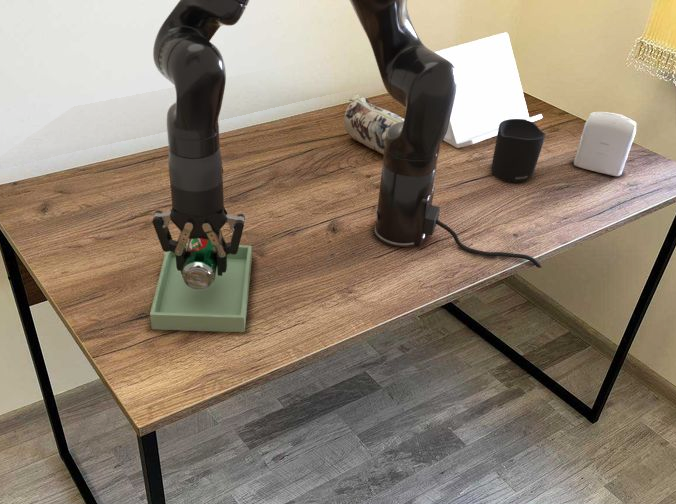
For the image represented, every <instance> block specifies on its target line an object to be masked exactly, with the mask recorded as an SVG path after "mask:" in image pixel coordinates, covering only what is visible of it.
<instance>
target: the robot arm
mask: <svg viewBox="0 0 676 504" xmlns="http://www.w3.org/2000/svg"><path fill="white" fill-rule="evenodd" d="M348 1H349V3H350V5H351V7H352V9H353V11H354V14H355V15H356V17H357V19H358V21H359V23H360V26H361V27H362V29H363V31H364V33H365V35H366V37H367V39H368V42H369V44H370V47H371V50H372V53H373V56H374V59H375V63H376V65H377V68H378V72H379V75H380V79H381V82H382V83H383V86H384V88H385V90H386V92H387V93H388V94H389V96H390V97H391V98H392V99H393V100H394V101H396V102H397V103H398V104H400V105H402V106H403V107H404V108H405V113H404V117H403V119H404V121H403V122H398V123H395V124H393V125H392V126H390V127H389V129H388V130H387V133H386V140H385V149H384V155H383V158H382V166H381V175H380V184H379V190H378V191H379V192H378V200H377V206H376V208H374V211H375V212H374V214H375V223H374V227H373V228H374V230H373V231H374V235H375V237H376V238H377V239H378V240H379V241H381V242H382V243H384V244H387V245H389V246H392V247H397V248H409V247H417V248H421V246H422V244H423V242H424V240H425V238H426V235H428V236H432V235H433V233H434V231H435V229H436V227H437V226H439V227H441V228H442V229H443V230H445V231H446V232H448V233H449V234H450V235H451V236H452V237H453V239H454V242H455V244H456V245H457V246H458V247H459V248H460V249H462V250H463V251H465V252H467V253H469V254H474V255H478V256H484V257H505V258H512V259H522V260H527V261H529V262H531V263H532V264H533V265H534V266H535V267H536V268H539V269H541V268H542V265H541V263H540V262H539V261H538V260H537V259H536V258H535V257H533V256H530V255H527V254H523V253H513V252H507V251H506V252H504V251H484V250H479V249H474V248H472V247H468V246H466V245H465V244H464V243H462V242H461V241H460V239H459V236H458V235H457V233H456V232H455V230H453V229H452V228H451V227H450V226H448V225H447V224H445V223H444V222H442V221H440V220H439V217H440V212H441V206H437V205H433V200H434V196H435V195H434V194H435V189H436V186H435V185H434V182H435V177H436V172H437V171H436V170H437V164H438V160H439V154H440V149H441V145H442V142H443V141H444V140H443V139H444V137H445V135H446V133H447V130H448V126H449V122H450V117H451V113H452V109H453V105H454V100H455V96H456V90H457V73H456V70H455V67H454V66H453V64H451V63H450V62H449V61H448V60H446V59H445V58H443V57H441V56H440V55H438V54H436V53H435V52H436V51H433V50H431V49H430V48H428V47H427V46H426V45H425V44H424V43H423V42H422V40H421V39H420V37H419V36H418V33H417V31H416V30H415V27H414V25H413V23H412V20H411V18H410V15H409V10H408V0H348ZM249 3H250V0H179V1H178V2H177V4H176V5H175V6H174V8H173V9H172V11H171V12H170V13H169V14H168V16H167V17H166V18H165V20H164V21H163V23H162V24H161V25H160V28H159V30H158V32H157V34H156V36H155V40H154V44H153V48H152V57H153V58H152V59H153V62H154V65H155V67H156V69H157V71H158V72H159V73H160V74H161V75H162V76H163V77H164V78H165V79H166V80H168V81H169V82H170V83H171V84H172V85H174V89H175V96H176V98H175V100H176V101H175V102H174V103H173V104H171V105H170V107H169V108H168V109H167V113H166V134H167V144H168V158H167V159H168V161H167V163H168V177H169V185H170V196H171V210H170V211H166V212H163V211H162V210H159V209H157V210H155V211H154V215H153V219H152V220H151V221H152V225H153V228H154V230H155V234H156V236H157V238H158V241H159V244H160V246H161V248H162V249H161V250H162V251H163V252H169V251H171V252H173V253H174V254H175V256H176V267H177V270H178V271H181V274H182V269H183V264H184V260H185V255H186V248H185V246H186V244H187V243H188V242H189V239H196V238H202V239H209V240H210V242H211V244H212V246H213V247H214V248H215V250H216V252H217V273H218V276H222V274H223V273H225V272H226V270H227V255H228V254H233V255H235V254H237V252H238V248H239V245H241V244H240V243H241V239H242V236H243V231H244V228H245V219H246V216H245V215H244V214H243V213H239V214H237V215H234V214H229V213H228V211H227V210H226V208H225V203H224V202H225V201H224V199H225V198H224V177H223V176H224V167H223V159H222V153H221V148H220V147H221V144H220V125H219V117H220V114H221V110H222V105H223V100H224V94H225V89H226V82H227V72H226V66H225V61H224V58H223V55H222V53H221V51H220V50H219V49H218V47H217V46H216V45H215V44H214V43H212V42H211V40H212V39H213V37H214V36H215V34H216V33H217V31H218V30H219V29H220V28H221V27H222V26H228V27H232V26H235V25H236V24H238V22H239V21H240V20H241V18H242V17H243V15H244V14H245V10H246V9H247V6H248V4H249ZM170 222H172V224H173V225H175V226H176V228H177V229H178V230H179V231H180V232H179V236H178V238H177V240H175V239H173V237H172V235H171V232H170V231H171V230H170V229H169V225H170ZM226 223H227V224H228V225H229V229H230V230H231V231H232V235H231V239H230V241H228V242H227V241H226V239H225V238H224V234H223V231H222V229H223V227H224V226H225V224H226Z"/></svg>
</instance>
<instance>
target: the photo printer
mask: <svg viewBox="0 0 676 504" xmlns="http://www.w3.org/2000/svg"><path fill="white" fill-rule="evenodd" d="M636 132H637V122H636V121H635V120H633V119H631V118H629V117H627V116H625V115H623V114H619V113H616V112H611V111H593V112H590V114H589V116H588V117H587V119H586V121H585V123H584V126H583V129H582V133H581V136H580V140H579V142H578V147H577V151H576V153H575V157H574V160H573V165H574V166H575V167H576V168H581V169H584V170H588V171H592V172H596V173H600V174H604V175H608V176H613V177H620V176H621V175H622V173H623V171H624V168H625V165H626V163H627V160H628V156H629V154H630V150H631V148H632V145H633V142H634V139H635V136H636Z"/></svg>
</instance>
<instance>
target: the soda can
mask: <svg viewBox="0 0 676 504" xmlns="http://www.w3.org/2000/svg"><path fill="white" fill-rule="evenodd" d="M187 243H188V246H187V251H186V255H185V260H184V264H183V269H182V277H183V279H184V282H185V284H186V285H187V286H188V287H189V288H191V289H193V290H205V289H207V288H208V287H209V286H210V285H211V284H212V283H213V282H214V280H215V275H216V269H217V252H216V250H215V248H214V247H213V246H212V244H211V242H210V240H209V239H202V238H196V239H188V241H187Z"/></svg>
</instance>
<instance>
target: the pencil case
mask: <svg viewBox="0 0 676 504" xmlns="http://www.w3.org/2000/svg"><path fill="white" fill-rule="evenodd" d="M349 102H350V104H349V105H348V106H347V107H346V110H345V113H344V116H343V127H344V130H345V132H346V133H347V134H349V136H350V137H351V138H352V139H354V141H357V142H359V143H361V144H363V145H364V146H366V147H367V148H369V149H371V150H373V151H375V152H377V153H379V154H381V155H383V156H384V149H385V140H386V133H387V130H388V129H389V127H390V126H392V125H393V124H395V123H398V122H403V121H404V117H401V116H400V115H398V114H397V113H393V112H392V111H389V110H387V109H385V108H382V107H379V106H376V105H374V104H372V103H370V101H369V99H368V98H367V97H364V96H360V95H359V94H354V95H353V96H351V97H350V99H349Z"/></svg>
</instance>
